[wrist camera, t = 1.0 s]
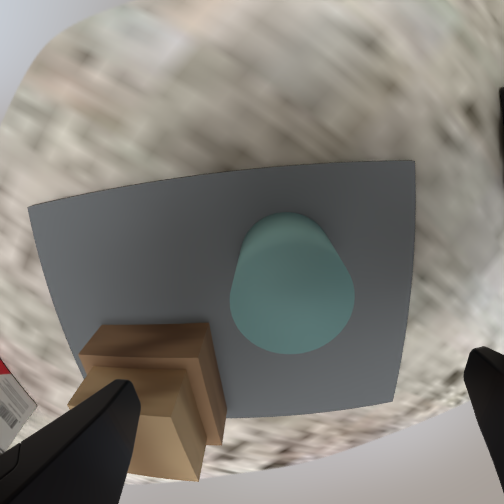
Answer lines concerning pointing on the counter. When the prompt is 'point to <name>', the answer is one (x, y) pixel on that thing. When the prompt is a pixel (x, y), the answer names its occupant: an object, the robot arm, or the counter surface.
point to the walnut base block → (166, 361)
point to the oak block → (158, 420)
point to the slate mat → (224, 266)
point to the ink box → (12, 408)
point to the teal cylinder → (290, 286)
